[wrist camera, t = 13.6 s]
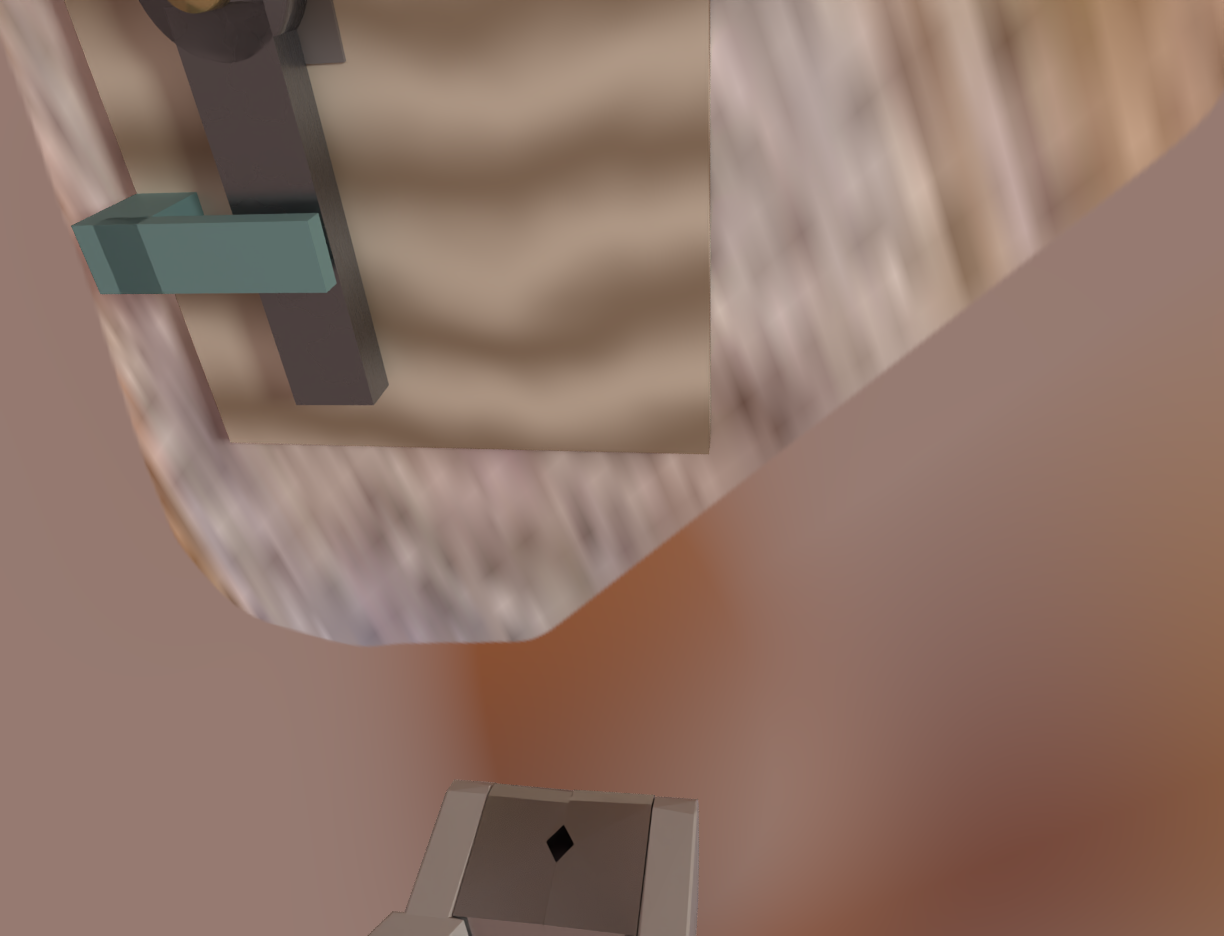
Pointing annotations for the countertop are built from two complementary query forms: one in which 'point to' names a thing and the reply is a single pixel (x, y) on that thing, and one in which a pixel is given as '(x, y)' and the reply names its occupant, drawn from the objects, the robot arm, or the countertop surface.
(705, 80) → the board
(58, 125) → the countertop surface
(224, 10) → the lever
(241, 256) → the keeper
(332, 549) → the countertop surface
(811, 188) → the countertop surface
